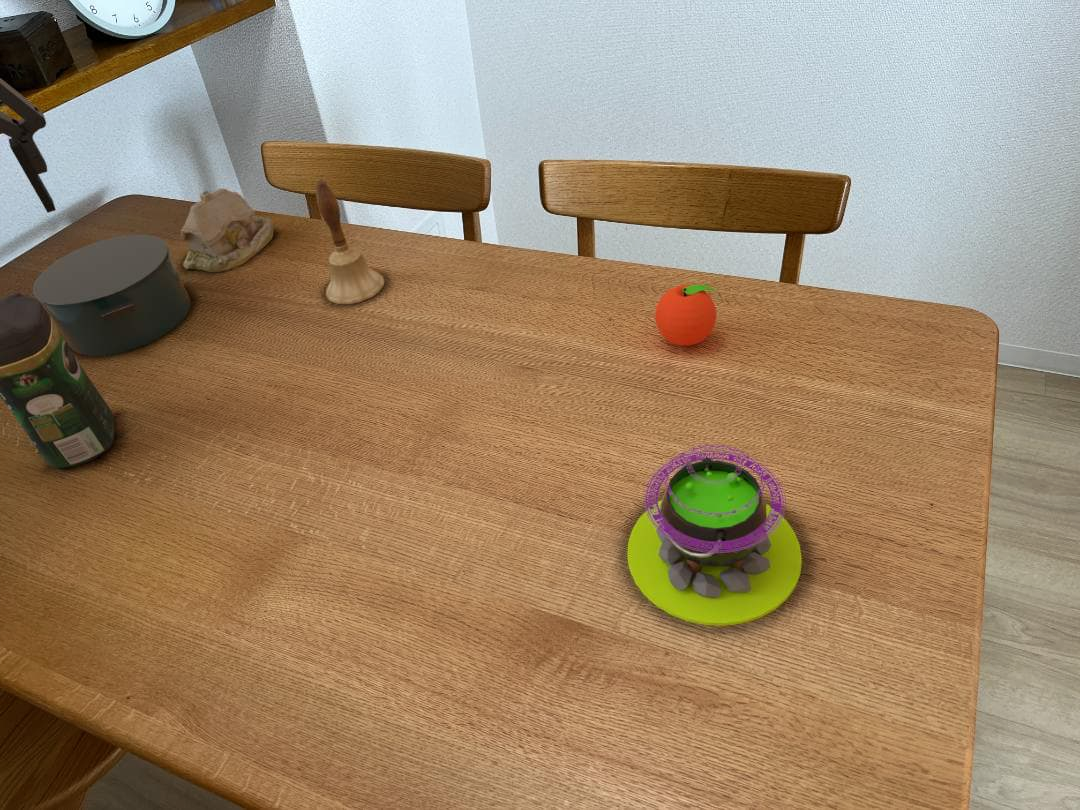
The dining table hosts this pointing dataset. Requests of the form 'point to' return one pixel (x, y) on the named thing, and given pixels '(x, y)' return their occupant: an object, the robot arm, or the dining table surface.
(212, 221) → the ceramic model
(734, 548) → the toy cauldron
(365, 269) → the hand bell
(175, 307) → the teal round box
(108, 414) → the coffee jar
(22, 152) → the robot arm
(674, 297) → the clementine
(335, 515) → the dining table surface
